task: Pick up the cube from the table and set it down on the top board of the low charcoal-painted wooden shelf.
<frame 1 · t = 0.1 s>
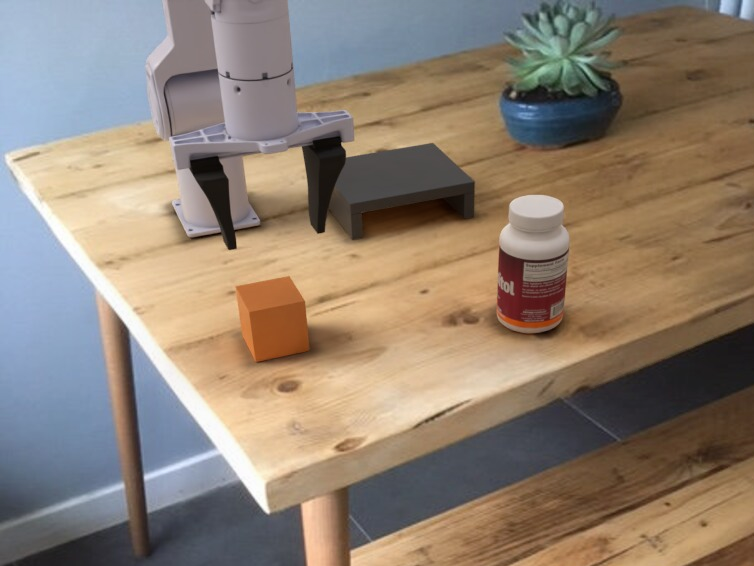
hand: (274, 236, 88), 10 cm above the table, tool pointing down, fingers open, 7 cm apart
cube: (275, 343, 94), on the table
pill bottle: (529, 320, 96), on the table
shelf: (394, 206, 115), on the table
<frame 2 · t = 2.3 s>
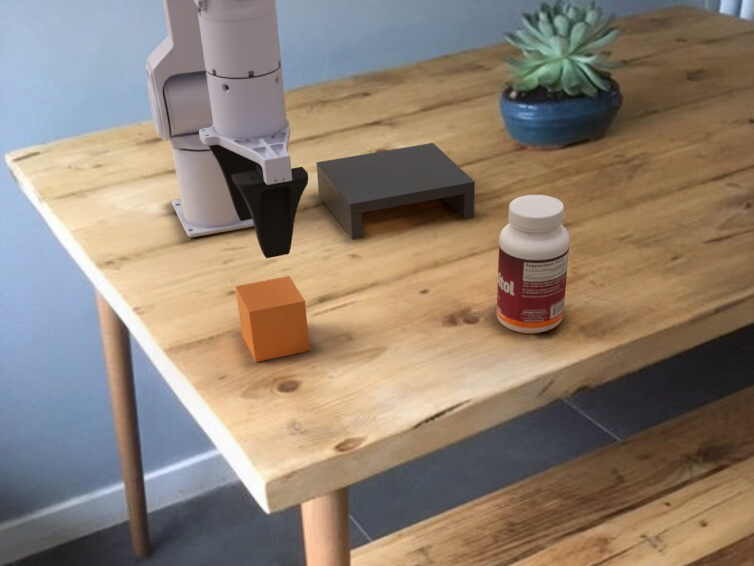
hand: (263, 235, 87), 10 cm above the table, tool pointing down, fingers open, 7 cm apart
nothing on the table moved.
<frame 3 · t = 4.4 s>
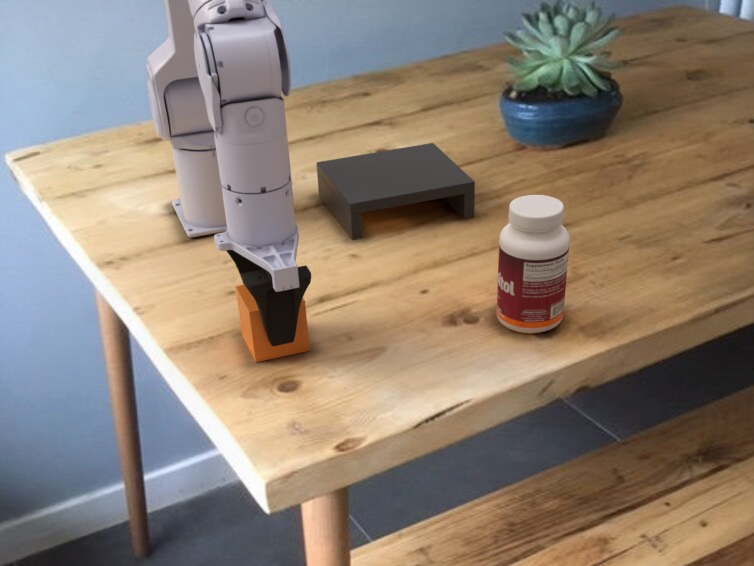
hand: (273, 327, 93), 2 cm above the table, tool pointing down, fingers closed on cube, 5 cm apart
cube: (275, 343, 94), on the table, touching gripper
everything else where it was.
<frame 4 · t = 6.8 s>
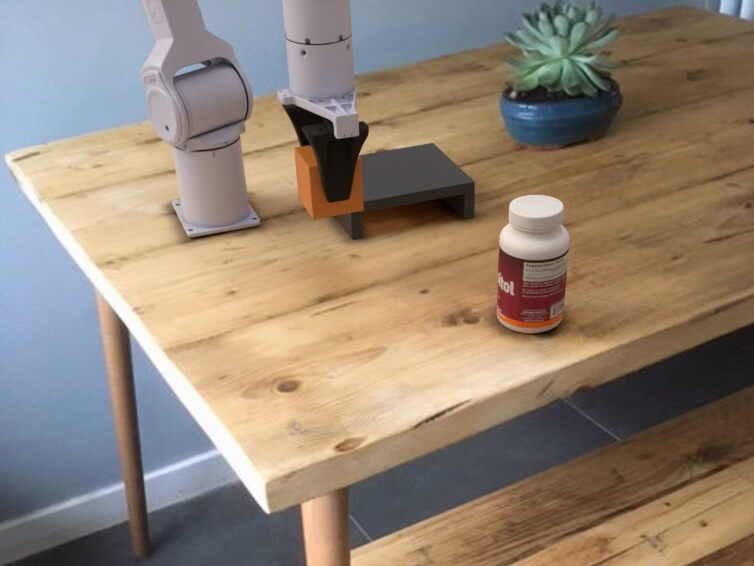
hand: (329, 188, 98), 9 cm above the table, tool pointing down, fingers closed on cube, 5 cm apart
cube: (330, 204, 99), point 7 cm above the table, touching gripper
everything else where it was.
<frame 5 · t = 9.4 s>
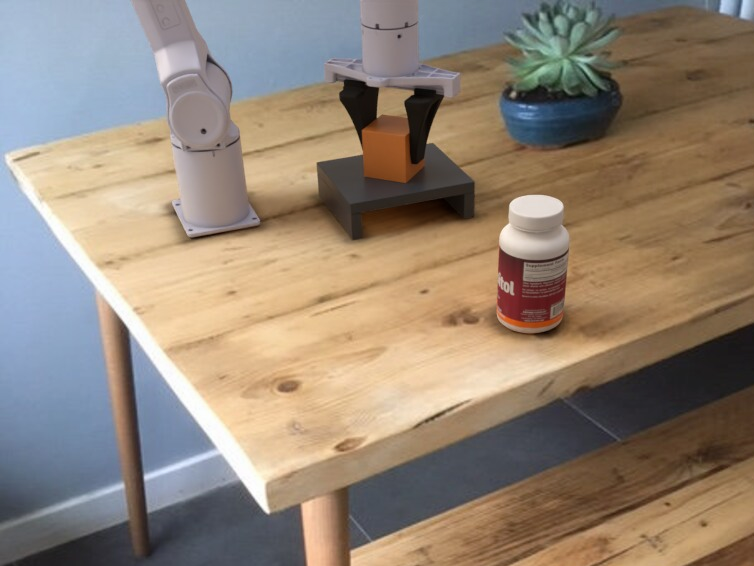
hand: (393, 157, 112), 6 cm above the table, tool pointing down, fingers closed on cube, 5 cm apart
cube: (394, 171, 113), point 4 cm above the table, touching gripper, shelf
everything else where it was.
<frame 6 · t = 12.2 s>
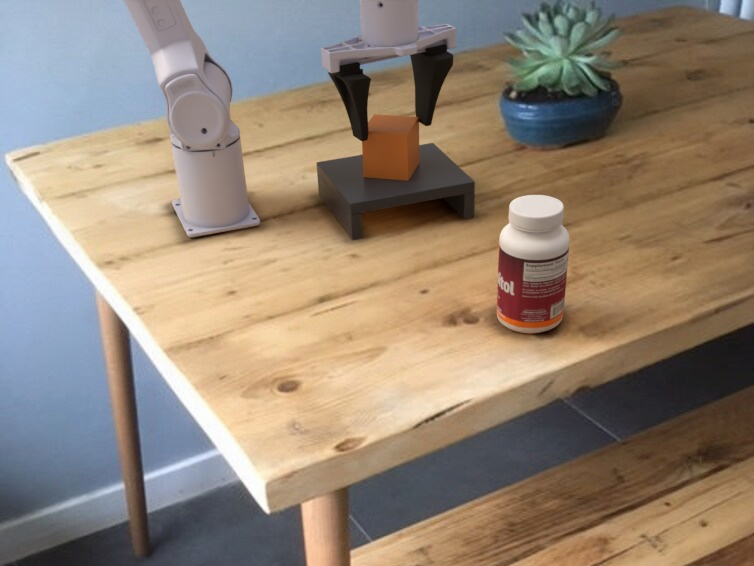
hand: (392, 130, 110), 8 cm above the table, tool pointing down
cube: (391, 170, 113), point 4 cm above the table, touching gripper
everything else where it was.
when the fingers open (9 cm above the table, at t = 12.8 s): cube stays where it is, resting on shelf.
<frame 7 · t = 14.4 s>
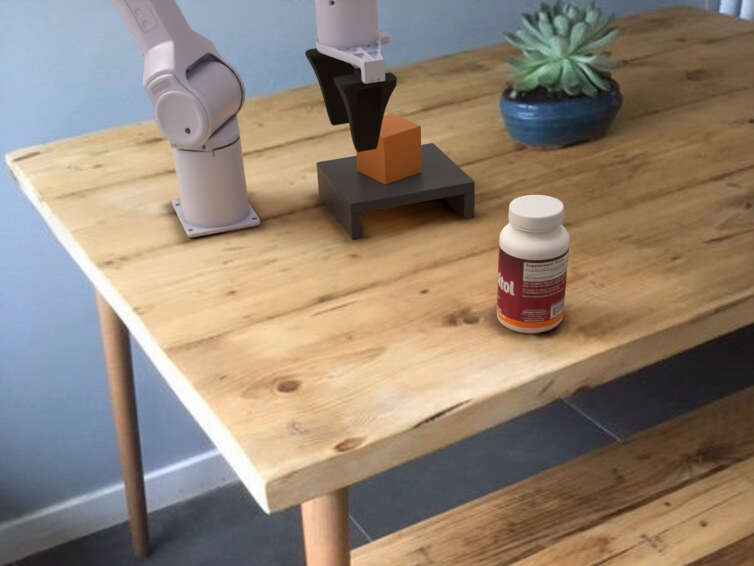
hand: (353, 136, 104), 10 cm above the table, tool pointing down, fingers open, 7 cm apart
cube: (389, 171, 113), point 4 cm above the table, touching shelf
everything else where it was.
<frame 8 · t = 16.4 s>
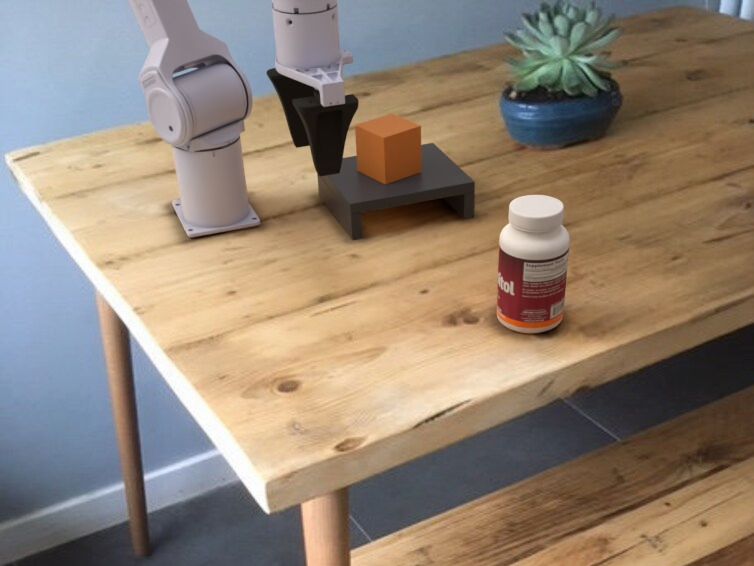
hand: (316, 159, 100), 10 cm above the table, tool pointing down, fingers open, 7 cm apart
nothing on the table moved.
at the end: cube inside the target area on the shelf (0.5 cm from its centre), point 4.0 cm above the shelf's base; cube tilted 0°; the gripper is holding nothing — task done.
